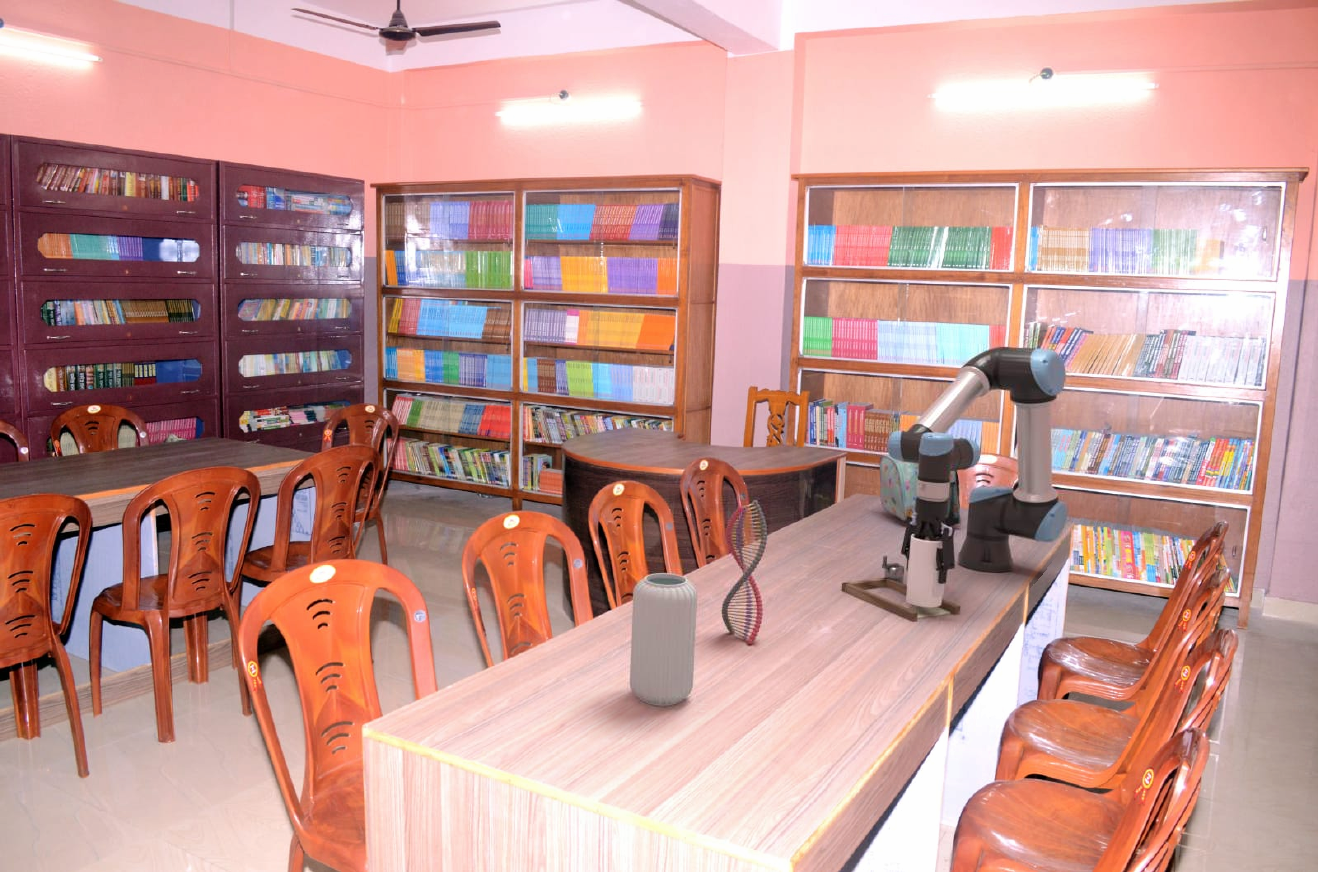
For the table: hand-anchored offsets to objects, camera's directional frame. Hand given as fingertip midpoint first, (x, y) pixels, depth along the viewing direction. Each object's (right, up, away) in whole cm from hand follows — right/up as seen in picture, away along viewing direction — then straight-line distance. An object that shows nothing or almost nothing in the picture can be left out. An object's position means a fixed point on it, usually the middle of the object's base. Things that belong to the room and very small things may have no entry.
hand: (924, 590), depth 232 cm
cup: (0, -3, 0) cm, 3 cm away
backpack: (+25, +7, +103) cm, 106 cm away
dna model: (-46, -7, -23) cm, 52 cm away
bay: (-4, -4, +8) cm, 10 cm away
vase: (-64, -11, -56) cm, 86 cm away
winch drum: (-2, -2, +23) cm, 23 cm away
